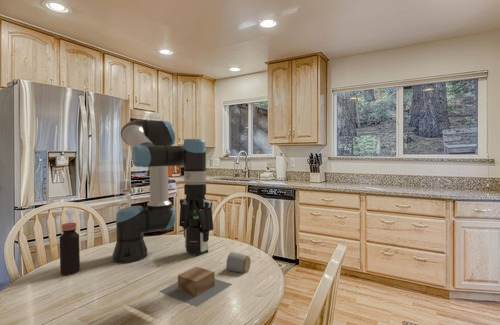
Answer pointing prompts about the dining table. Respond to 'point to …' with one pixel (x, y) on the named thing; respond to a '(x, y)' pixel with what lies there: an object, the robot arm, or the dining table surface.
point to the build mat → (193, 299)
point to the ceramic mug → (238, 262)
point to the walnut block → (196, 281)
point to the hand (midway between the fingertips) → (196, 248)
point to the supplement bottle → (193, 236)
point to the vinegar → (69, 250)
